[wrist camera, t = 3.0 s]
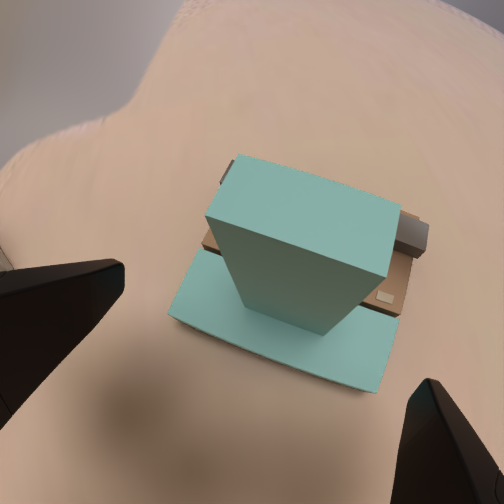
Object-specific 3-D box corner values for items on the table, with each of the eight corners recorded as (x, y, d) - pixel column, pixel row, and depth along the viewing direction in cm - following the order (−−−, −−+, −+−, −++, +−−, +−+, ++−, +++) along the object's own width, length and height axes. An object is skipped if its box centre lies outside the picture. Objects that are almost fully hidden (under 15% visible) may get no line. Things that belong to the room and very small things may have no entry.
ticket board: (391, 323, 17) (414, 311, 14) (205, 256, 20) (191, 232, 17) (410, 234, 19) (430, 209, 16) (244, 179, 22) (239, 147, 19)
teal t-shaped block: (365, 391, 16) (492, 401, 5) (178, 320, 18) (59, 238, 7) (387, 325, 17) (511, 248, 6) (206, 260, 20) (134, 127, 9)
